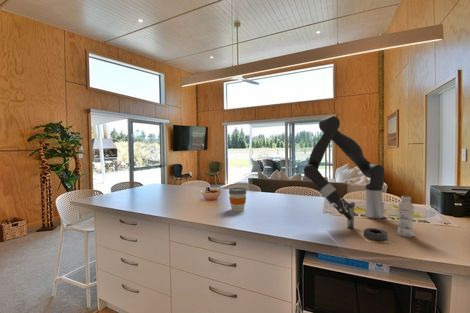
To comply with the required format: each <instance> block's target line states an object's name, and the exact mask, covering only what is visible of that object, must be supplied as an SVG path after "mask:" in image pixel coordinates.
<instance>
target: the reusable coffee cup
mask: <svg viewBox="0 0 470 313" xmlns="http://www.w3.org/2000/svg"><path fill="white" fill-rule="evenodd" d="M228 194H229V204H230V207H231V211H232V212H243V211H245V206H246V200H247V188H245V187H231V188H229V190H228Z"/></svg>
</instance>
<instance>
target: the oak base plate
mask: <svg viewBox="0 0 470 313" xmlns="http://www.w3.org/2000/svg"><path fill="white" fill-rule="evenodd" d="M356 234H357V235H359V236H360V237H361V238H362V239H363V240H365V241H366V242H367V243H381V244H385V243H386V244H387V243H389V244H396V242H395V241H394V240H392V239H391V238H390V237H388V236H387V240H386V241H373V240H369V239H367V238H366V237H364V232H357V233H356Z"/></svg>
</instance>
